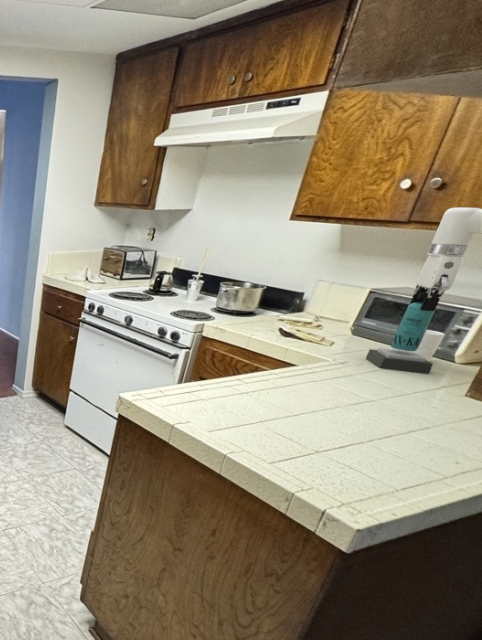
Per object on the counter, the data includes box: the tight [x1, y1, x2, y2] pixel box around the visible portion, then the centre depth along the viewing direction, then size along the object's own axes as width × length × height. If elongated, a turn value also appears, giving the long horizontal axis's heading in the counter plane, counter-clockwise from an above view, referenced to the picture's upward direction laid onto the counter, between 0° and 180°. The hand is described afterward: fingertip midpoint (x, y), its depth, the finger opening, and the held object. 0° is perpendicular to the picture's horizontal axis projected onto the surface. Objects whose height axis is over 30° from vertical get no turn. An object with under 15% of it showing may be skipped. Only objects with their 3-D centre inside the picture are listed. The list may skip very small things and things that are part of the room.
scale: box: [365, 348, 434, 375], centre depth 157 cm, size 12×12×4 cm
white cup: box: [412, 329, 446, 362], centre depth 163 cm, size 8×8×10 cm
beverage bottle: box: [390, 292, 437, 351], centre depth 152 cm, size 6×7×20 cm
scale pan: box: [376, 347, 426, 362], centre depth 156 cm, size 9×9×2 cm
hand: (421, 308), depth 150 cm, fingers closed on beverage bottle, 6 cm apart
